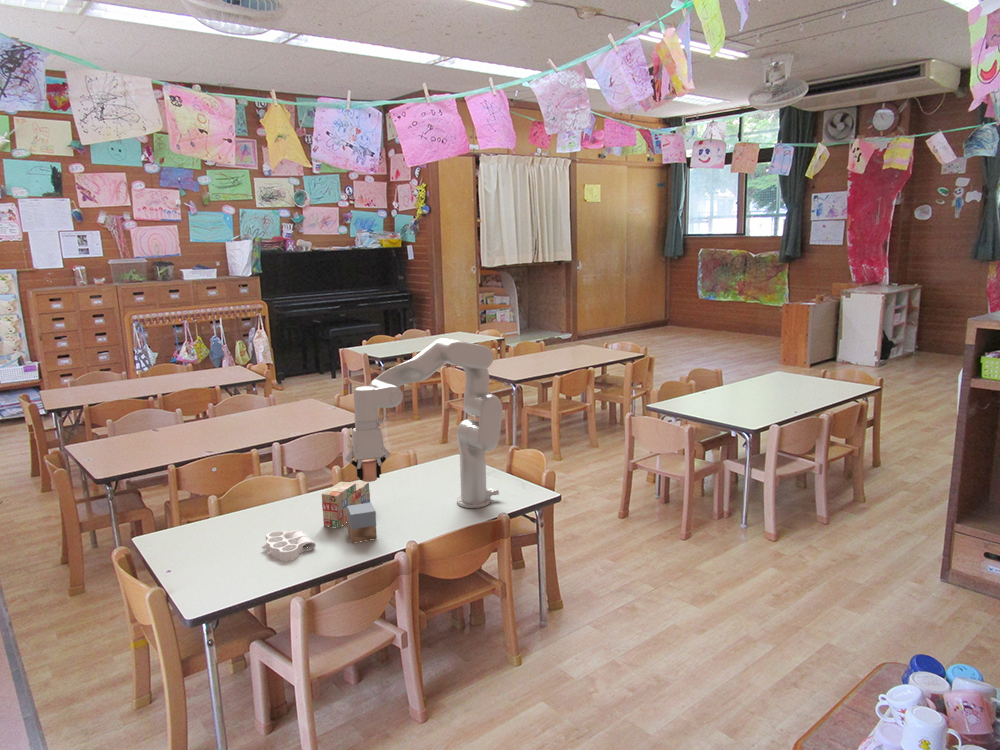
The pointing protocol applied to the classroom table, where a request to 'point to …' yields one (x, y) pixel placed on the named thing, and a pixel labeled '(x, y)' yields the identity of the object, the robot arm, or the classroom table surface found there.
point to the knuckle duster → (287, 544)
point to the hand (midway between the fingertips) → (369, 477)
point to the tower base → (361, 533)
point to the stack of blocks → (343, 501)
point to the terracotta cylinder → (369, 470)
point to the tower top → (361, 515)
